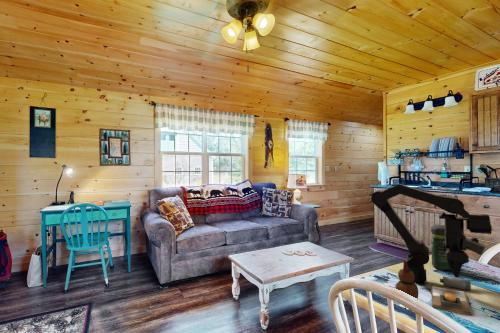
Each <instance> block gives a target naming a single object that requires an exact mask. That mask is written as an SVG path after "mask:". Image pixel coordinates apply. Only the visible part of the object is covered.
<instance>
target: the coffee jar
mask: <svg viewBox="0 0 500 333" xmlns="http://www.w3.org/2000/svg"><path fill="white" fill-rule="evenodd" d="M430 236H431V238H430V240H431V242H430V243H431V244H430V245H431V247H430V248H431V265H432V267H433V268H435V269H439V270H442V271H452V270H451V268H450V265H449V263H448V261H447V259H446V253H445V251H444V247H443V241H444V240H445V224H433V225H432V226H431V228H430ZM445 248H446V247H445Z"/></svg>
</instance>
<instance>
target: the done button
mask: <svg viewBox="0 0 500 333" xmlns="http://www.w3.org/2000/svg"><path fill="white" fill-rule="evenodd" d="M445 299H446V300H447V301H451V302H456V295H454V294H452V293H445Z"/></svg>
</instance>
